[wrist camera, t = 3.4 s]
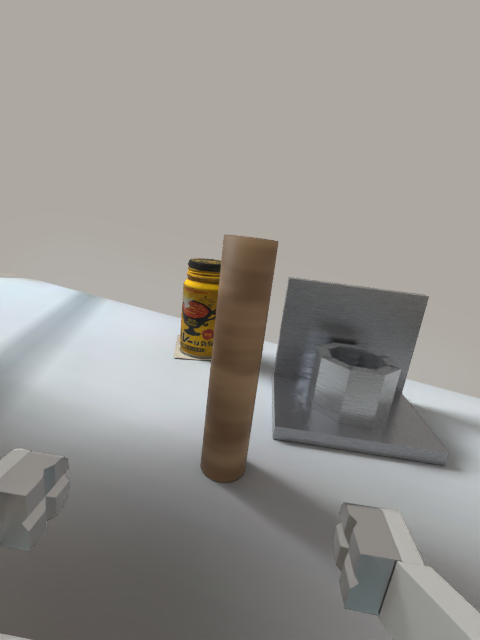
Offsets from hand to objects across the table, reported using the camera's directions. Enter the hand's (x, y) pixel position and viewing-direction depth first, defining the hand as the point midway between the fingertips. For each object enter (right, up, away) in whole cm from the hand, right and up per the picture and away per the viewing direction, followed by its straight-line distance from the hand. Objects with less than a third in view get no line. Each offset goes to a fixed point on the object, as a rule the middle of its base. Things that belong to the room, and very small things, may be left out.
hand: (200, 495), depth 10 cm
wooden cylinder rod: (0, -5, +14) cm, 15 cm away
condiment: (-4, +1, +36) cm, 36 cm away
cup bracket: (+11, -4, +23) cm, 26 cm away
